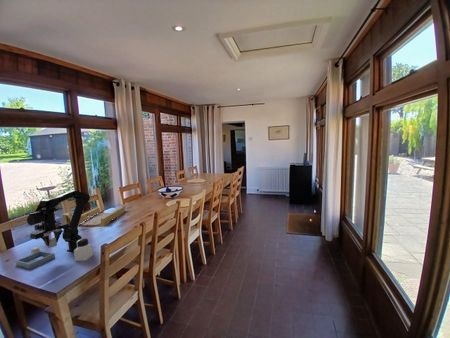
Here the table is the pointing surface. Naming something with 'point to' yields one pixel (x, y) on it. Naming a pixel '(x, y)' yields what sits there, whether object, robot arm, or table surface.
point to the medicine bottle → (83, 250)
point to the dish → (30, 264)
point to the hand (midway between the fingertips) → (52, 244)
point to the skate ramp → (104, 220)
